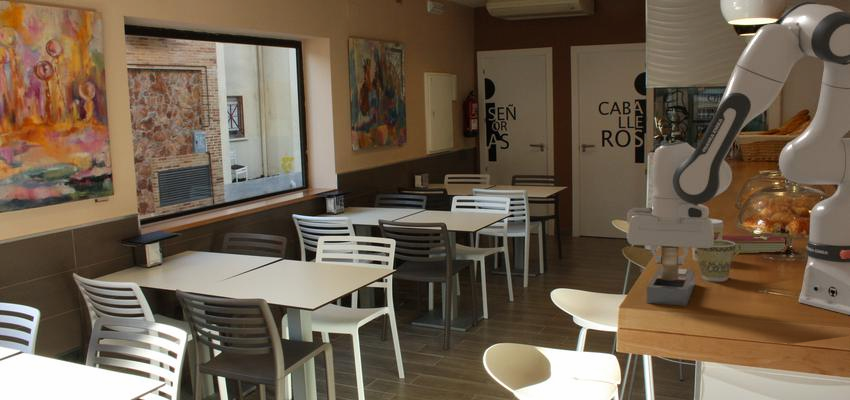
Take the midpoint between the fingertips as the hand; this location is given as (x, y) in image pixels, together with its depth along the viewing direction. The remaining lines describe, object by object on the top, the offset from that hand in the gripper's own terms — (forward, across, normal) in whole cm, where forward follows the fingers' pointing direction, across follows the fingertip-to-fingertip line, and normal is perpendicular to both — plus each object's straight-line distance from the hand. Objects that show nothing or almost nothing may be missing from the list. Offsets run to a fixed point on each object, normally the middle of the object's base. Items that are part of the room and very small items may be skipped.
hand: (669, 263), depth 189 cm
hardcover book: (+10, +17, +70) cm, 72 cm away
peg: (+4, 0, 0) cm, 4 cm away
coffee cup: (+9, +6, +49) cm, 50 cm away
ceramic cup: (+9, +11, +26) cm, 30 cm away
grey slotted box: (+9, 0, +6) cm, 11 cm away
